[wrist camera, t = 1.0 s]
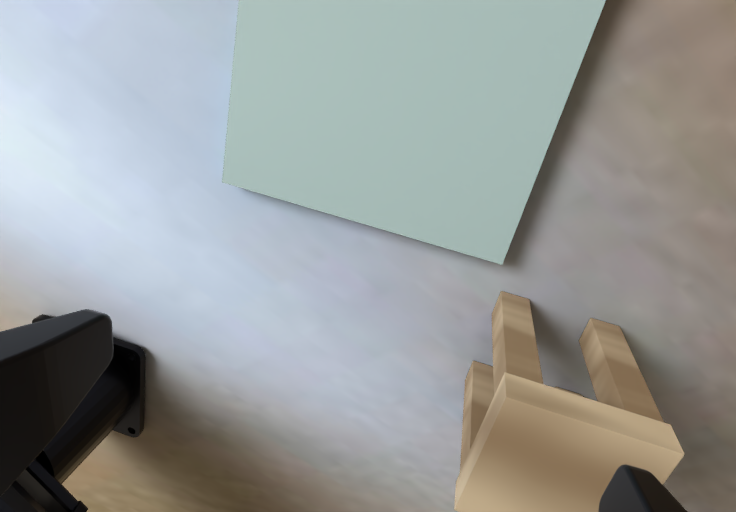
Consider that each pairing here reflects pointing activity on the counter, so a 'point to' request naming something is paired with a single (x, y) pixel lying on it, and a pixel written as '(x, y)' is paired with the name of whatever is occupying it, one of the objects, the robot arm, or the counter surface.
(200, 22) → the counter surface
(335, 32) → the board
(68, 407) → the robot arm
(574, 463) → the stool
